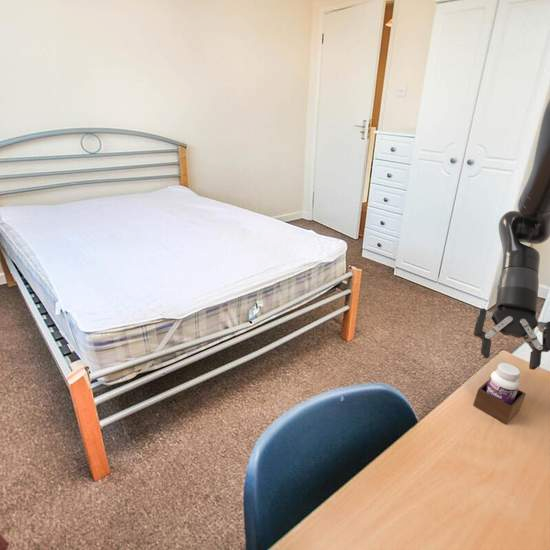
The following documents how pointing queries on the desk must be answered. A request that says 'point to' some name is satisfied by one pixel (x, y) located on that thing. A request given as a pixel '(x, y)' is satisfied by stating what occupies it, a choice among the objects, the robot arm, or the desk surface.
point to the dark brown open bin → (498, 404)
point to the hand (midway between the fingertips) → (509, 363)
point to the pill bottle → (504, 383)
